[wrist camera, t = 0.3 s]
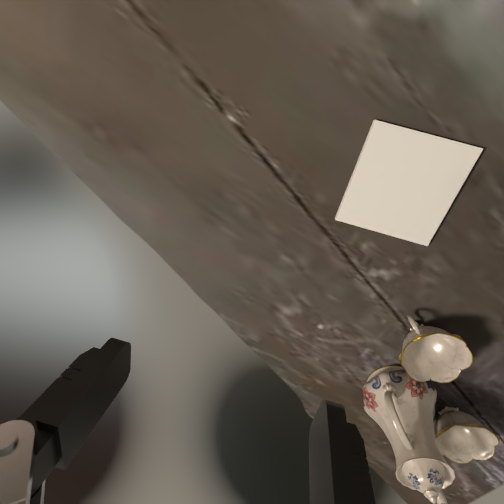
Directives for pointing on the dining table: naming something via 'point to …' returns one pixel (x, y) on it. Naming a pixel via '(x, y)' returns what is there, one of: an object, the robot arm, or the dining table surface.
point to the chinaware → (426, 411)
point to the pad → (405, 182)
